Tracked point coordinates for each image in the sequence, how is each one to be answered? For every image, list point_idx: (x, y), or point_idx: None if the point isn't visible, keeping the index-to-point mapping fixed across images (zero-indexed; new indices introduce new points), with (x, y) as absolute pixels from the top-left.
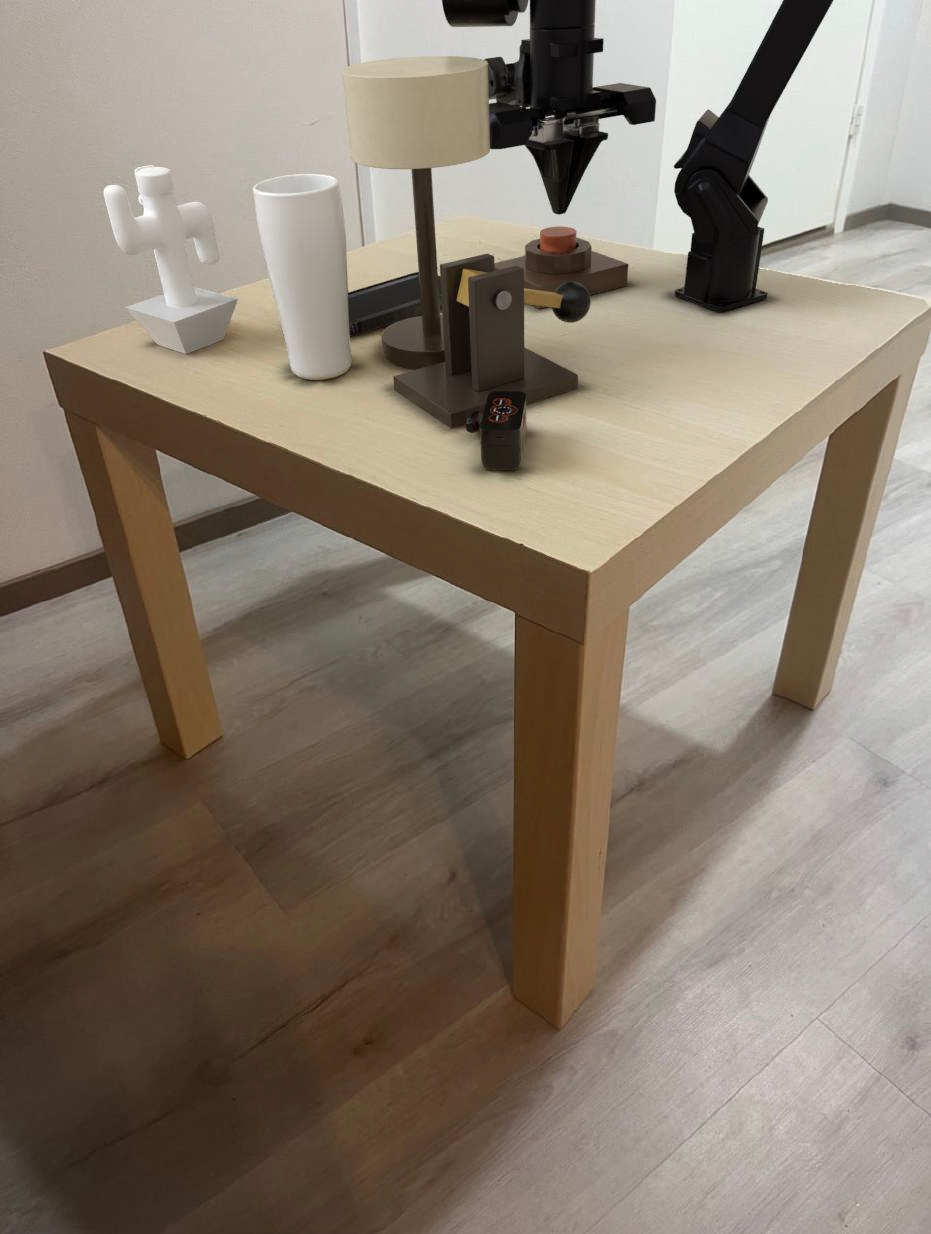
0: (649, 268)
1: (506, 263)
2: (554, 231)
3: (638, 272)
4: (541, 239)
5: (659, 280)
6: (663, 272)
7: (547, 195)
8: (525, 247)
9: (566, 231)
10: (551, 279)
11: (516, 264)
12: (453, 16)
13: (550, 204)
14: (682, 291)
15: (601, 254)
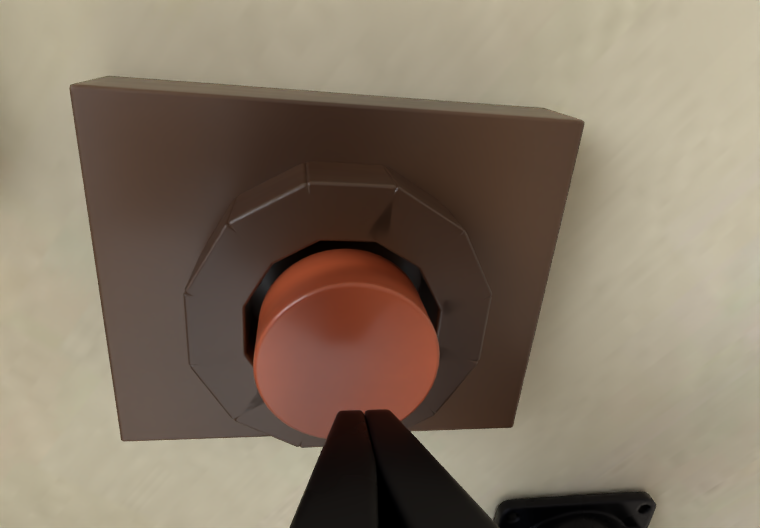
0: (661, 305)
1: (160, 137)
2: (333, 359)
3: (611, 313)
4: (257, 334)
5: (584, 396)
6: (650, 355)
7: (314, 473)
8: (209, 249)
9: (375, 393)
10: (201, 411)
11: (190, 186)
12: None
13: (325, 441)
14: (510, 524)
15: (537, 307)
